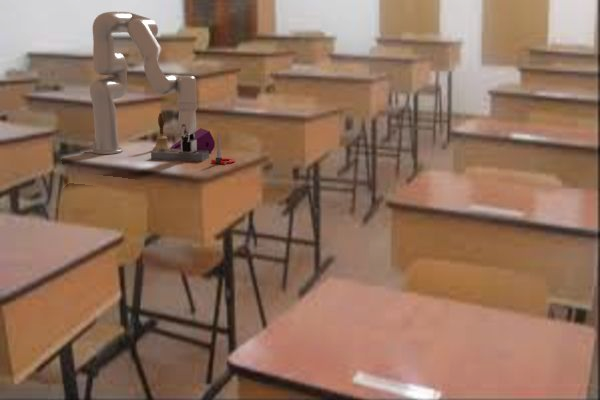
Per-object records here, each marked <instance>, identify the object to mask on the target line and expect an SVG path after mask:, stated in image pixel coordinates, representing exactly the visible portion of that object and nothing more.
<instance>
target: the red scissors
mask: <svg viewBox="0 0 600 400" xmlns="http://www.w3.org/2000/svg"><path fill="white" fill-rule="evenodd" d="M221 142H222V141H221V132H220V131H217V151H216V157H215V159H211V161H210V162H211V163H212V164H216V165H223V166H225V165H227V164H233V163H232V162H234V163H235V162H236V159H234V158H228V157H227V158H226V157H225V158H224V157H223V158H222V157H221V156H222V154H221V153H222V151H221ZM223 160H231V161H223Z"/></svg>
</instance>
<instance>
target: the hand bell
mask: <svg viewBox="0 0 600 400" xmlns="http://www.w3.org/2000/svg"><path fill="white" fill-rule="evenodd" d="M157 123H158V126H159V136H158V137H156V143H155V146H154V147H152V150H153V151H155V150H157V149H159V148H161V149H170V148H171V147H172V146H170V143H169V141H168V137H167V136H165V134H164V132H165V131H164V127H165V125H164V124H165V118H164V115H163V113H162V112H161V113H158V118H157Z"/></svg>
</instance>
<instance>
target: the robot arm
mask: <svg viewBox="0 0 600 400" xmlns="http://www.w3.org/2000/svg"><path fill="white" fill-rule="evenodd" d="M158 31H159V28H158V25H157V23H156V22H155V21H154V20H153V19H151V18H148V17H145V16H142V15H138V14H136V13H133V12H130V11H108V12H103V13H100V14H98V15H97V16H96V18H95V19H94V21H93V23H92V37H93V38H92V41H93V45H92V46H93V48H92V49H93V50H92V53H93V55H92V57H93V59H92V60H93V62H92V63H93V65H92V67H93V71H94V72H95V73H96V74H98V75H100V76H107V77H103V78H102V77H101V78H98V79H95V80H94V81H92V82H91V84H90V86H89V95H90V99H91V103H92V110H93V125H94V139H95V140H94V141H88V142H87V147H91V148H93V149H92V150H91V151H92V153H93V154H96V155H111V154H112V155H113V154H118V153H122V152H123V147H120V146H119V134H118V132H119V131H118V117H117V116H118V115H117V109H116V108H117V107H116V105H115V103H114V100H116V99H121V98H123V96H125V94H126V92H127V81H128V80H127V79H128V77H127V75H128V64H127V60H126V58H125V56H124V55H123V53H121V52H119V51H115V39H114V37H113V36H112V34H114V33H115V34H117V33H118V34H119V33H121V34H122V33H128V36H129V37H130V39H131V40H132V42H133V43H134V45H135V47H136V49H137V50H138V52H139V54H140V55H141V57H142V59H143V68H144V69H143V70H144V74H145V77H146V79H147V80H148V82H149V84H150V85H151V87H152V88H153V90H154V91H155V92H156V93H158V94H159V95H170V94H175V93H177V109H178V118H177V119H178V121H177V134H178V135H179V136H180V138H181V140H182V151H183V152H190V142H189V139H193V140H195V132H196V131H197V130H198V129H197V112H196V111H197V110H198V105H197V103H198V102H197V78H196V77H195V76H193V75H181V74H176V73H174V74H173V73H172V74H164V72H163V71H162V68H161V67H160V64H159V58H160V55H161V54H162V51H163V49H162V46H161V45H160V44H159V42H158V41H157V40H158V39H156V37H157V35H158V33H159V32H158Z"/></svg>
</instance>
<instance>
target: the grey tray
mask: <svg viewBox="0 0 600 400" xmlns="http://www.w3.org/2000/svg"><path fill="white" fill-rule="evenodd" d="M209 158H210V153H209V151H208V150H197V153H195V154H189V153H181V149H161V148H159V149H157V150H153V151H151V152H150V159H151V160H152V161H153V160H155V161H156V160H158V161H178V162H195V161H196V162H198V163H199V162H200V163H202V161H203V162H204V161H206V160H207V159H209ZM205 159H206V160H205Z"/></svg>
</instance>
